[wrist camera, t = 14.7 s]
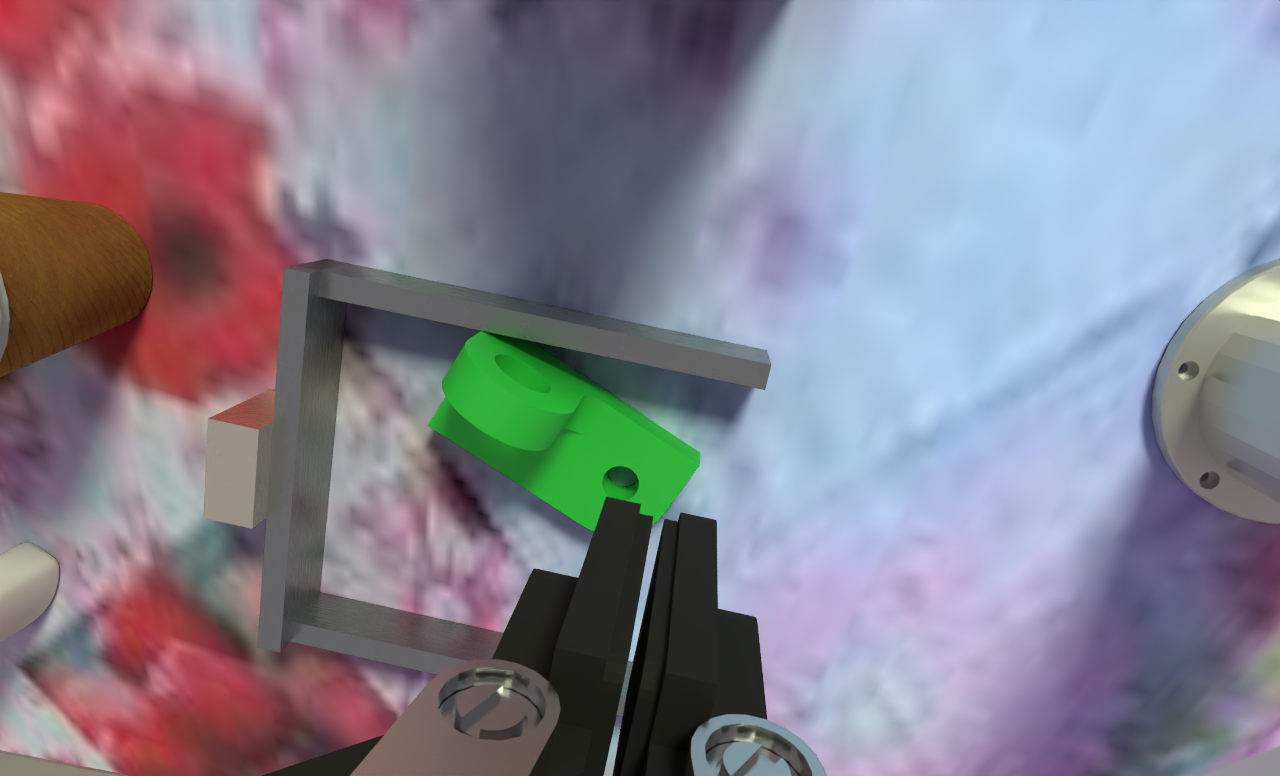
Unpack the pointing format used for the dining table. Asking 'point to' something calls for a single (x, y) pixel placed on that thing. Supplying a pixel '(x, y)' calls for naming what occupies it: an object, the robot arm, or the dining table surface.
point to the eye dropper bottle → (25, 586)
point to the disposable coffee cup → (64, 276)
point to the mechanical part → (557, 430)
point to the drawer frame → (304, 436)
